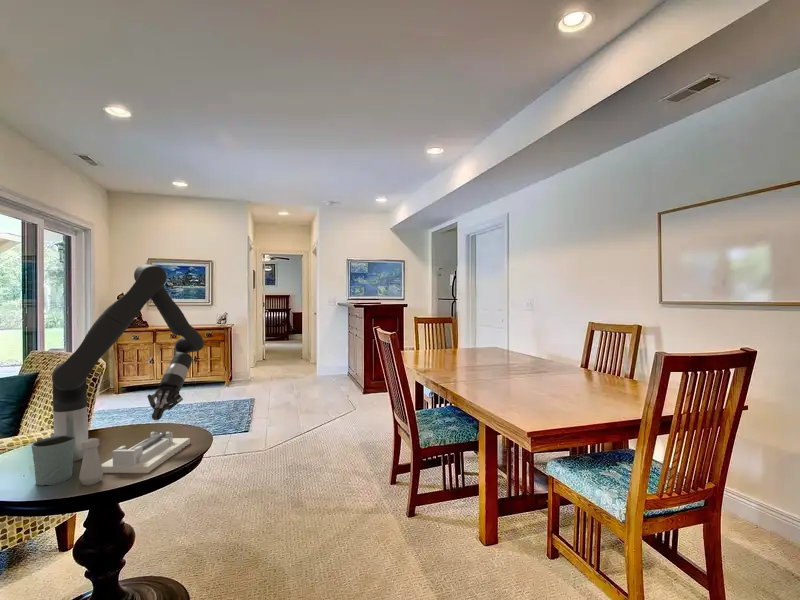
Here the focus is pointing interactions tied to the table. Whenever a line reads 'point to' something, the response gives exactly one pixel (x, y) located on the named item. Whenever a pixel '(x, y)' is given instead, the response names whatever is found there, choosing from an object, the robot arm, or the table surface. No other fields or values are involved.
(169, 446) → the stand
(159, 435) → the bar
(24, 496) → the table surface
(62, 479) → the pale green planter pot
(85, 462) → the salt shaker
